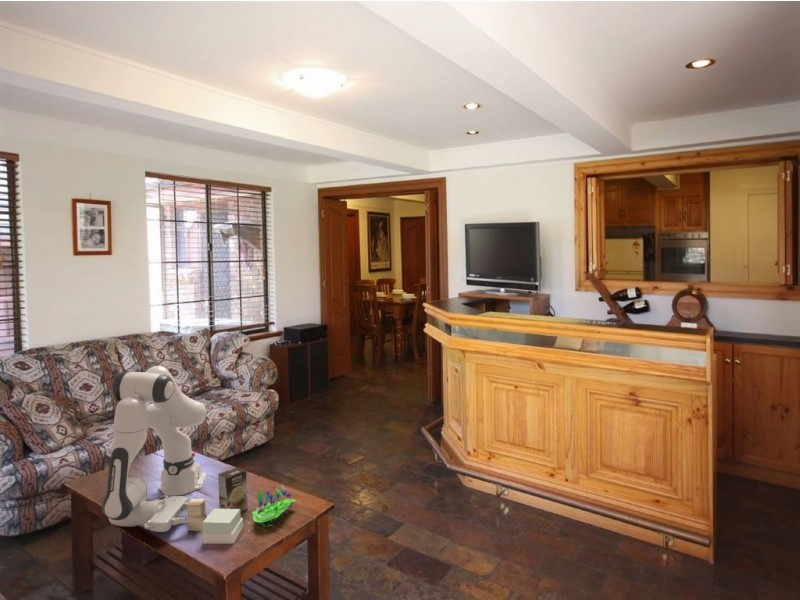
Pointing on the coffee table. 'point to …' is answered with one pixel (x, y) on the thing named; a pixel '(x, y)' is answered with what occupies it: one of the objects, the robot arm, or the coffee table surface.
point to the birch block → (196, 514)
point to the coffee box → (233, 489)
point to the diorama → (271, 506)
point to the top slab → (221, 521)
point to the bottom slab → (224, 535)
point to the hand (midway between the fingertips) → (190, 513)
